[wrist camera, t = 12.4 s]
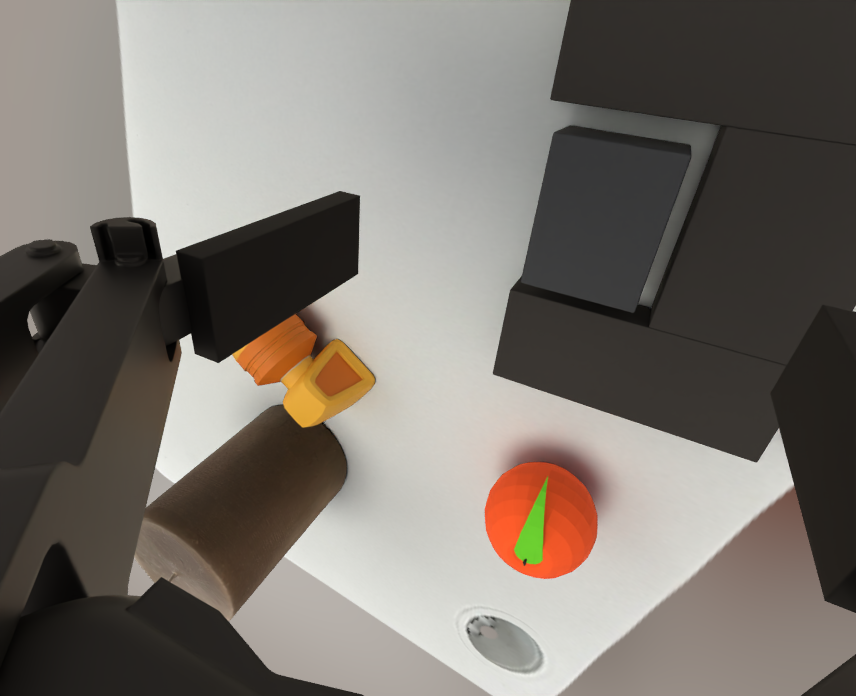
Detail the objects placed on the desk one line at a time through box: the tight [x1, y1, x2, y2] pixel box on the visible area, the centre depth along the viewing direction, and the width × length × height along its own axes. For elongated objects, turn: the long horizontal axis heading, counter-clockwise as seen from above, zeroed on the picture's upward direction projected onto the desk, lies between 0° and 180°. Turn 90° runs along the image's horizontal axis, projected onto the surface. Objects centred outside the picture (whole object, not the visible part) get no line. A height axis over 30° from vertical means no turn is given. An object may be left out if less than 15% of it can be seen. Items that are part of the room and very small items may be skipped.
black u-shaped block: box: [493, 0, 856, 462], centre depth 22 cm, size 20×14×2 cm
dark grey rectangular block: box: [521, 125, 691, 313], centre depth 23 cm, size 7×6×4 cm
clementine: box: [485, 462, 598, 579], centre depth 31 cm, size 8×7×7 cm
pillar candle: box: [134, 405, 347, 621], centre depth 38 cm, size 10×10×15 cm
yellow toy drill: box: [232, 314, 375, 427], centre depth 35 cm, size 5×6×12 cm
